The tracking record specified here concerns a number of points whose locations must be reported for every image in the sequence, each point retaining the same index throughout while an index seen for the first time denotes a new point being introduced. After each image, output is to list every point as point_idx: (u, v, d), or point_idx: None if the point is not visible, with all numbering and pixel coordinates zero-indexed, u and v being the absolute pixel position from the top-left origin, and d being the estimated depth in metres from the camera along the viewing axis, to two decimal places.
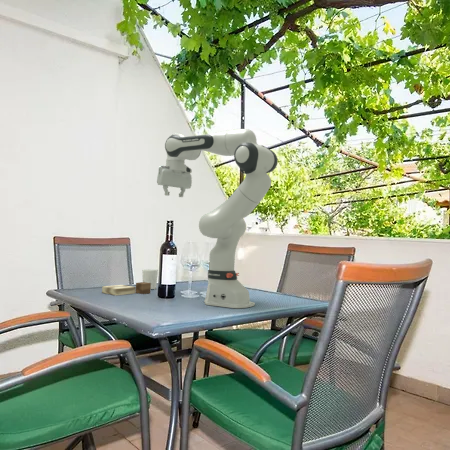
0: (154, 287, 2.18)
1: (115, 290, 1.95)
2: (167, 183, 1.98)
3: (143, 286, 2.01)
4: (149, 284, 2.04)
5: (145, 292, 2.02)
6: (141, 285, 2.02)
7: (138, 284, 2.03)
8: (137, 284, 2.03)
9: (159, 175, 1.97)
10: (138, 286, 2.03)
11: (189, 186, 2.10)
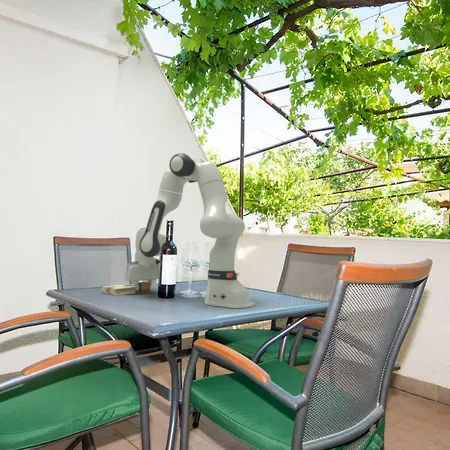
0: (154, 287, 2.18)
1: (115, 290, 1.95)
2: (135, 279, 1.98)
3: (143, 286, 2.01)
4: (149, 284, 2.04)
5: (145, 292, 2.02)
6: (141, 285, 2.02)
7: (138, 284, 2.03)
8: None
9: (127, 272, 1.97)
10: None
11: None
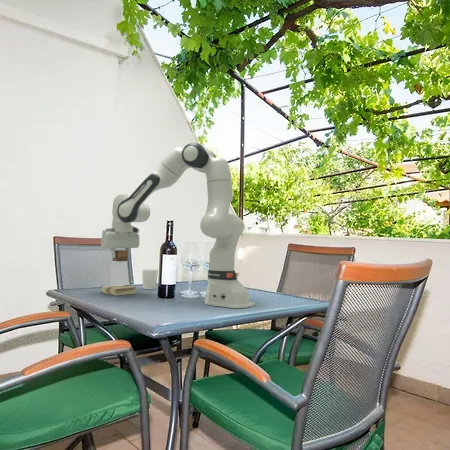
0: (154, 287, 2.18)
1: (115, 290, 1.95)
2: (111, 246, 1.96)
3: (120, 254, 1.99)
4: (126, 252, 2.02)
5: (122, 259, 2.00)
6: (118, 252, 1.99)
7: (115, 251, 2.01)
8: None
9: (103, 238, 1.95)
10: None
11: (137, 246, 2.08)
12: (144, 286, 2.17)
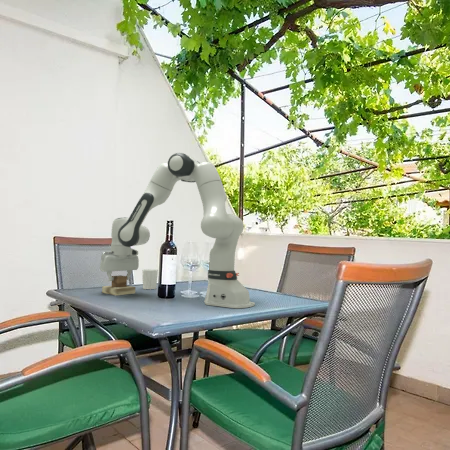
0: (154, 287, 2.18)
1: (115, 290, 1.95)
2: (110, 269, 1.96)
3: (119, 280, 1.99)
4: (125, 277, 2.02)
5: (121, 285, 2.00)
6: (117, 278, 1.99)
7: (114, 277, 2.00)
8: None
9: (102, 262, 1.95)
10: (114, 279, 2.00)
11: (136, 268, 2.08)
12: (144, 286, 2.17)
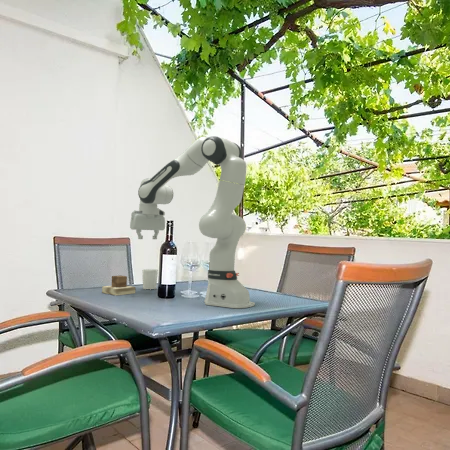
0: (154, 287, 2.18)
1: (115, 290, 1.95)
2: (140, 227, 2.03)
3: (119, 280, 1.99)
4: (125, 277, 2.02)
5: (121, 285, 2.00)
6: (117, 278, 1.99)
7: (114, 277, 2.00)
8: (113, 277, 2.01)
9: (132, 220, 2.02)
10: (114, 279, 2.00)
11: (163, 228, 2.15)
12: (144, 286, 2.17)
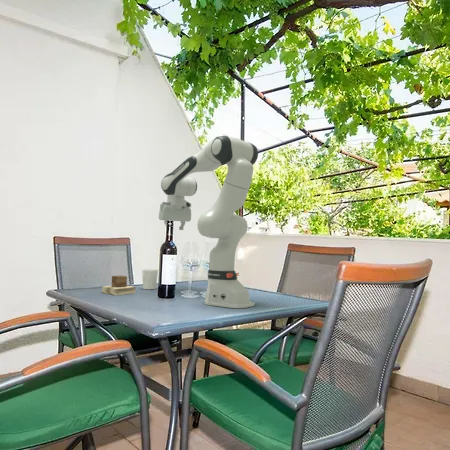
0: (154, 287, 2.18)
1: (115, 290, 1.95)
2: (168, 218, 2.12)
3: (119, 280, 1.99)
4: (125, 277, 2.02)
5: (121, 285, 2.00)
6: (117, 278, 1.99)
7: (114, 277, 2.00)
8: (113, 277, 2.01)
9: (161, 211, 2.10)
10: (114, 279, 2.00)
11: (189, 219, 2.23)
12: (144, 286, 2.17)
